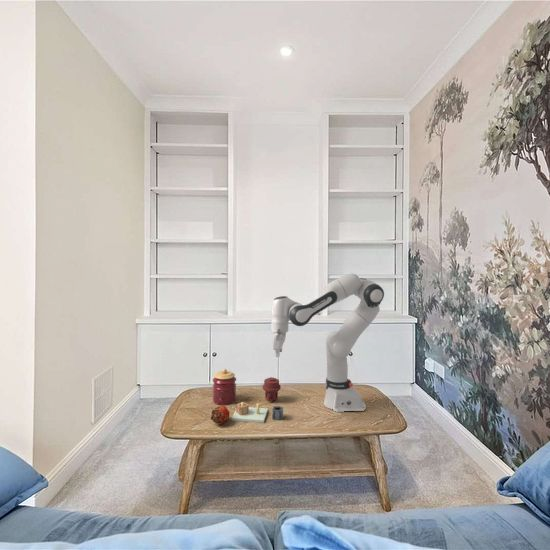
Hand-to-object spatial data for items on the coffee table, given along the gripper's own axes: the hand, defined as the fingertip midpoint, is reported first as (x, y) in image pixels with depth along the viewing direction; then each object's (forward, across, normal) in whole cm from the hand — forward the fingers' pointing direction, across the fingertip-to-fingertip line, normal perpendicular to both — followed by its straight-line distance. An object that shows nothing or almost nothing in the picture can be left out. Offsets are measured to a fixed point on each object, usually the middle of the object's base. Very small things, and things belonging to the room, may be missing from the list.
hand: (279, 354), depth 168 cm
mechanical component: (+30, +12, +5) cm, 33 cm away
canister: (+31, +8, +31) cm, 44 cm away
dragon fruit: (+31, -16, +26) cm, 43 cm away
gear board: (+30, -7, +13) cm, 33 cm away
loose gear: (+30, -7, -1) cm, 31 cm away
